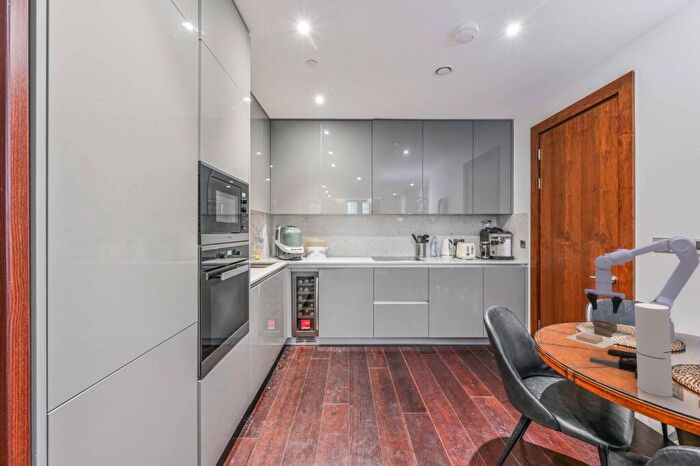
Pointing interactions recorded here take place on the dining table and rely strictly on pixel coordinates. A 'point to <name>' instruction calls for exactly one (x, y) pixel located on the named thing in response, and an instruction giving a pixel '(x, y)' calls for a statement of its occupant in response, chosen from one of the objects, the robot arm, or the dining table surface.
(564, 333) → the dining table surface
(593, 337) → the tile
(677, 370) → the dining table surface
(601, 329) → the pusher
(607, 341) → the mat
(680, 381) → the dining table surface
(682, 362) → the dining table surface
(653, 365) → the cylindrical container
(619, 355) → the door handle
